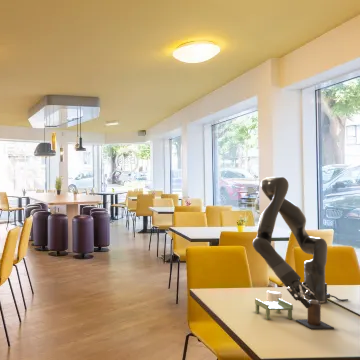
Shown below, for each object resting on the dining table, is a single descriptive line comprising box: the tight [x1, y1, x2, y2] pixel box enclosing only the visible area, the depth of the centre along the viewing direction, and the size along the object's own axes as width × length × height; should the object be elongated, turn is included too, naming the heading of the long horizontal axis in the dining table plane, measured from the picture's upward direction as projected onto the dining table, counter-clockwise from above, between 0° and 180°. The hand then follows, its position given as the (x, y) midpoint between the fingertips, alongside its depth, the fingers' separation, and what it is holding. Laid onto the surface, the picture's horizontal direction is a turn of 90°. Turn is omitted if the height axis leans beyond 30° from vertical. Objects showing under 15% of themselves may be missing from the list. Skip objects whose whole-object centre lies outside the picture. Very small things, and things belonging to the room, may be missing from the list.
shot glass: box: [265, 289, 283, 302], centre depth 195 cm, size 7×7×7 cm
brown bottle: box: [306, 299, 322, 325], centre depth 169 cm, size 5×5×10 cm
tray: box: [254, 298, 294, 320], centre depth 180 cm, size 12×10×7 cm
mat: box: [295, 319, 335, 330], centre depth 169 cm, size 10×10×1 cm
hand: (313, 305), depth 169 cm, fingers open, 8 cm apart
